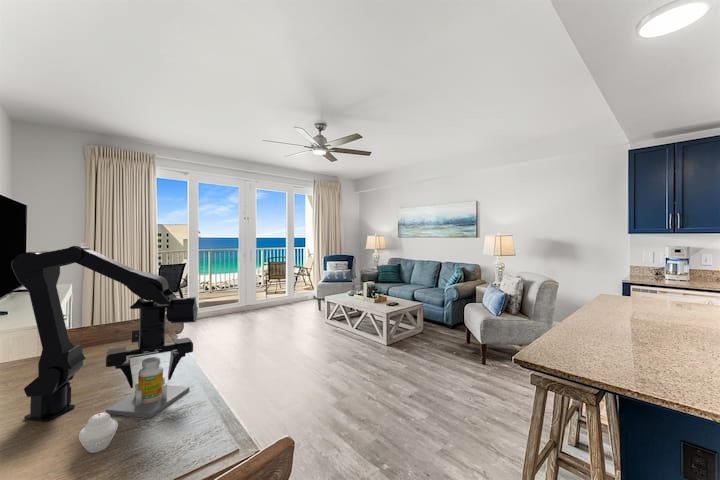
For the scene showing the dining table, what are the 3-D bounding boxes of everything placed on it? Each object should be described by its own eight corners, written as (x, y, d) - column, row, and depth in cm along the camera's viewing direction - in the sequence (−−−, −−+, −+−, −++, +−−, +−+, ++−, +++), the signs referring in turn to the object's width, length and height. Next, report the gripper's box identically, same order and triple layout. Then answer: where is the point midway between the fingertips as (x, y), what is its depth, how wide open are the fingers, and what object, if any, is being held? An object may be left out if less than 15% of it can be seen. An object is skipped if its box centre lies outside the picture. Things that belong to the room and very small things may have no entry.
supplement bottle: (142, 404, 78) (143, 365, 78) (134, 397, 82) (135, 360, 82) (165, 396, 83) (166, 359, 83) (157, 389, 86) (158, 354, 86)
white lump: (85, 462, 59) (86, 425, 59) (73, 450, 63) (74, 415, 63) (123, 444, 65) (123, 411, 65) (110, 434, 68) (111, 402, 68)
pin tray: (150, 418, 74) (150, 399, 74) (105, 413, 76) (106, 395, 76) (189, 390, 88) (189, 374, 88) (151, 387, 90) (151, 371, 90)
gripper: (187, 313, 94) (185, 365, 94) (108, 322, 83) (106, 381, 83) (194, 321, 85) (192, 378, 85) (106, 332, 74) (104, 398, 74)
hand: (151, 383), depth 82 cm, fingers open, 8 cm apart
